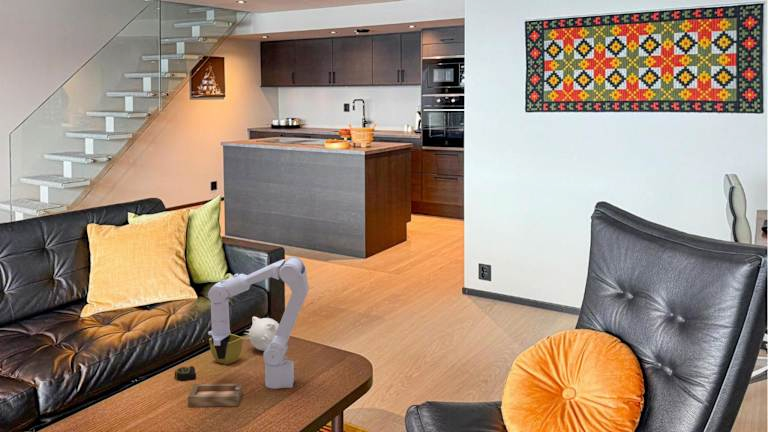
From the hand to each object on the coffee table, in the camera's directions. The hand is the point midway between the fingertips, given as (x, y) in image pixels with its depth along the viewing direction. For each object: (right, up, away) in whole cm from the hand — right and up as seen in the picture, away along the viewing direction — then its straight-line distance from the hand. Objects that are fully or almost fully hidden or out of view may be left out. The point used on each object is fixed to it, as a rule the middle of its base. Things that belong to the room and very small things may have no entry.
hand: (221, 358), depth 223 cm
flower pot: (-3, -6, +20) cm, 21 cm away
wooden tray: (+1, -11, -11) cm, 15 cm away
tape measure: (-13, -9, +6) cm, 17 cm away
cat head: (+9, -4, +32) cm, 33 cm away
